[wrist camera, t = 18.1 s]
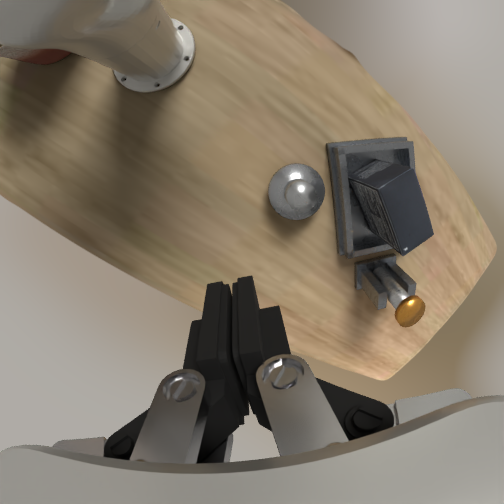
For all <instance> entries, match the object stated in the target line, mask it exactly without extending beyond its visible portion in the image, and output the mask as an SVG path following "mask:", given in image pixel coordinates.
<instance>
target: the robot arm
mask: <svg viewBox="0 0 504 504" xmlns="http://www.w3.org/2000/svg"><path fill="white" fill-rule="evenodd" d="M180 29H183V30H180ZM0 44H1V45H4V46H8V47H13V48H20V49H60V50H65V51H69V52H72V53H75V54H78V55H80V56H83V57H85V58H88V59H90V60H93V61H95V62H97V63H100V64H102V65H104V66H106V67H109V68H111V69H113V71H114V74H115V76H116V78H117V80H118V81H119V82H120V83H121V84H122V85H124V86H125V87H126V88H128V89H131V90H133V91H137V92H145V93H147V92H155V91H159V90H162V89H165V88H167V87H169V86H171V85H172V84H174V83H175V82H177V81H178V80H179V79H180V78H181V77H182V76H183V75H184V74H185V73H186V72H187V71H188V69H189V67H190V66H191V64H192V62H193V59H194V56H195V49H196V48H195V40H194V37H193V35H192V33H191V31H190V30H189V29H188V27H187V26H186V25H185V24H183V23H182V22H180V21H178V20H176V19H173V18H170V17H169V15H168V14H167V12H166V10H165V9H164V7H163V5H162V4H161V2H160V0H0ZM186 59H189V61H186ZM126 78H127V79H126ZM125 79H126V81H125ZM158 84H160V86H159V87H157V85H158ZM237 281H238V282H236V283H233V286H232V294H231V290H230V287H229V284H226V285H224V284H223V282H222V281H221V282H216V283H210V284H207V289H206V296H205V302H204V308H203V315H202V319H201V320H195V321H192V323H191V327H190V333H189V339H188V344H187V349H186V354H185V360H184V365H183V369H181V370H177V371H174V372H172V373H171V374H169V375H167V376H166V377H165V378H164V379H163V380H162V381H161V383H160V385H159V387H158V389H157V392H156V394H155V396H154V399H153V401H152V404H151V406H150V408H149V409H148V410H146V411H145V412H144V413H142V414H141V415H139V416H138V417H136V418H135V419H134V420H132V421H131V422H130V423H128V424H127V425H125V426H124V427H122V428H121V429H120V430H118V431H117V432H115V433H114V434H113V435H111V436H110V437H109V438H108V439H106V438H105V437H98V438H88V439H76V440H75V439H74V440H62V441H58V442H57V443H55V444H54V445H53V447H49V446H41V445H21V446H14V447H10V448H7V449H5V450H3V451H1V452H0V504H504V396H500V395H496V396H484V397H477V398H473V399H472V397H471V396H470V394H469V393H467V392H466V391H465V390H462V389H458V388H456V389H449V390H444V391H440V392H436V393H431V394H427V395H422V396H417V397H412V398H406V399H401V400H396V401H395V404H388V405H386V404H384V403H382V402H380V401H377V400H374V399H371V398H369V397H366V396H363V395H360V394H357V393H354V392H352V391H349V390H346V389H343V388H341V387H338V386H335V385H333V384H330V383H328V382H326V381H323V380H321V379H318V378H316V377H315V376H314V374H313V373H312V371H311V369H310V367H309V365H308V364H307V362H306V361H305V360H304V359H302V358H300V357H299V356H295V355H292V354H291V352H290V348H289V344H288V340H287V336H286V332H285V327H284V323H283V319H282V315H281V311H280V307H279V306H274V307H269V308H264V309H260V308H259V304H258V299H257V295H256V290H255V286H254V281H253V277H252V276H247V277H242V278H238V279H237ZM249 404H250V406H251V409H252V411H253V414H256V417H257V420H258V422H259V424H260V425H262V426H263V427H265V428H267V429H268V430H270V431H272V432H273V435H274V438H275V442H276V444H277V448H278V450H279V453H280V457H274V458H266V459H259V460H249V461H241V462H240V461H239V462H230V456H231V450H232V444H233V434H232V433H233V432H234V431H235V430H236V429H237V428H238V427H239V425H243V424H244V416H246V415H249Z"/></svg>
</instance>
